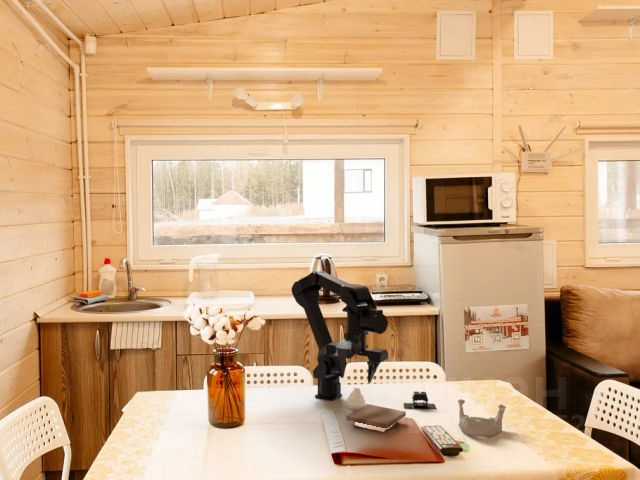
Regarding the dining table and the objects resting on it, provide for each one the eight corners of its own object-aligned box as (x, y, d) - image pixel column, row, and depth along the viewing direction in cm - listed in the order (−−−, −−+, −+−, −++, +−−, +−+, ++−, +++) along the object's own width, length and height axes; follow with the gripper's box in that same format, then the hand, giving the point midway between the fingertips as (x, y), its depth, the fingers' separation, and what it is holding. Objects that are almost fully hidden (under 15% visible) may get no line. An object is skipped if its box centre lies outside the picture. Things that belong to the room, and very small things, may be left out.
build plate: (439, 404, 188) (439, 390, 188) (442, 412, 181) (443, 397, 180) (398, 403, 188) (398, 389, 188) (400, 411, 181) (400, 396, 181)
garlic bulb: (369, 387, 183) (356, 391, 179) (368, 407, 183) (356, 411, 180) (355, 383, 187) (343, 387, 183) (355, 403, 187) (343, 406, 184)
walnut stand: (346, 426, 167) (346, 415, 167) (367, 414, 177) (367, 403, 177) (386, 435, 160) (386, 424, 160) (405, 422, 170) (405, 411, 170)
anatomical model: (450, 432, 160) (453, 393, 163) (456, 436, 169) (458, 399, 173) (502, 439, 155) (503, 398, 159) (504, 442, 165) (506, 404, 168)
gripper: (315, 329, 180) (314, 381, 181) (371, 336, 171) (370, 392, 171) (334, 323, 190) (334, 373, 191) (389, 330, 180) (388, 383, 181)
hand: (355, 380), depth 183 cm, fingers open, 9 cm apart
